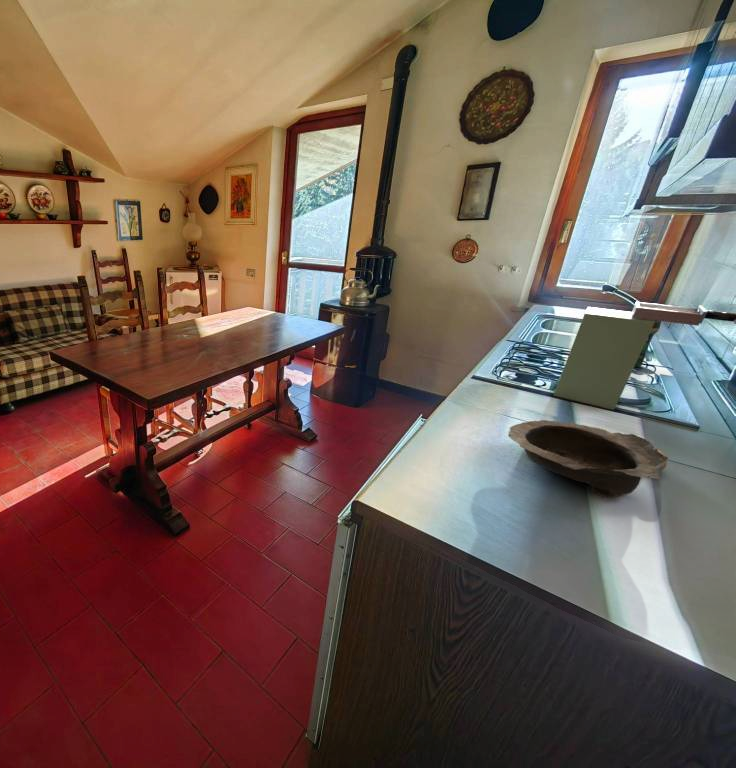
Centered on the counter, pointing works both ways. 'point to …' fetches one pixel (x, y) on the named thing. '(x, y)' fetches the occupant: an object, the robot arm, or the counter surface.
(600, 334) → the sage green block
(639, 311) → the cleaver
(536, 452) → the stone bowl
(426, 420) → the counter surface
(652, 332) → the coffee jar
